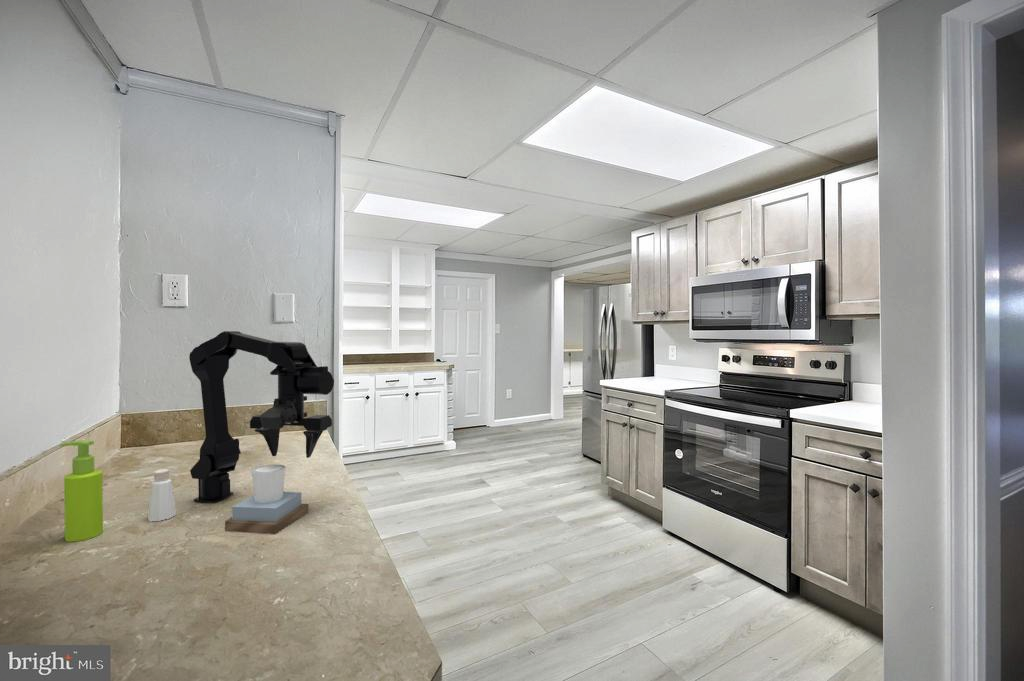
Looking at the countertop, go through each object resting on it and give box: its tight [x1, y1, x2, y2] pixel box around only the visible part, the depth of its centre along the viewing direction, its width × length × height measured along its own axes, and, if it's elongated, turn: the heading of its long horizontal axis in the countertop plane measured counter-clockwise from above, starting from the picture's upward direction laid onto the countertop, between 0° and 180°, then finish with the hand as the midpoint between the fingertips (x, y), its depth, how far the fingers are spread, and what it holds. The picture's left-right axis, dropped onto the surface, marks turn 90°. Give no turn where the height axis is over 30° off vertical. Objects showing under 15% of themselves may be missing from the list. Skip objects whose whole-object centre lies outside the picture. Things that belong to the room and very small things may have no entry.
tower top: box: [231, 491, 302, 522], centre depth 104 cm, size 10×10×3 cm
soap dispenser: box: [59, 440, 104, 543], centre depth 96 cm, size 6×7×20 cm
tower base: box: [224, 502, 310, 535], centre depth 104 cm, size 12×12×3 cm
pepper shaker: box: [147, 468, 177, 523], centre depth 106 cm, size 5×5×11 cm
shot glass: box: [251, 464, 286, 503], centre depth 104 cm, size 7×7×7 cm
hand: (291, 456), depth 112 cm, fingers open, 9 cm apart
